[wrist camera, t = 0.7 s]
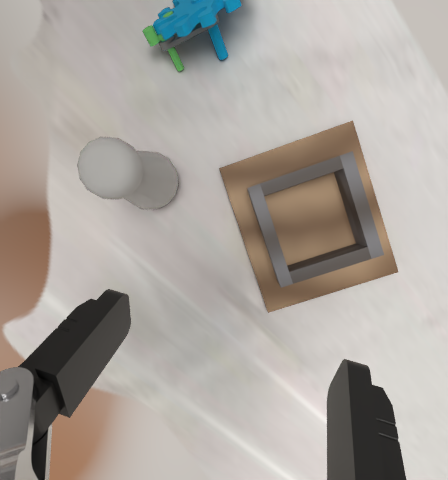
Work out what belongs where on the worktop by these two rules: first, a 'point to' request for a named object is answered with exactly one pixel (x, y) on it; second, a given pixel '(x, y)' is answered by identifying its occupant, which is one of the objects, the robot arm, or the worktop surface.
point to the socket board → (309, 217)
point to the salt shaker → (127, 173)
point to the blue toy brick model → (189, 25)
